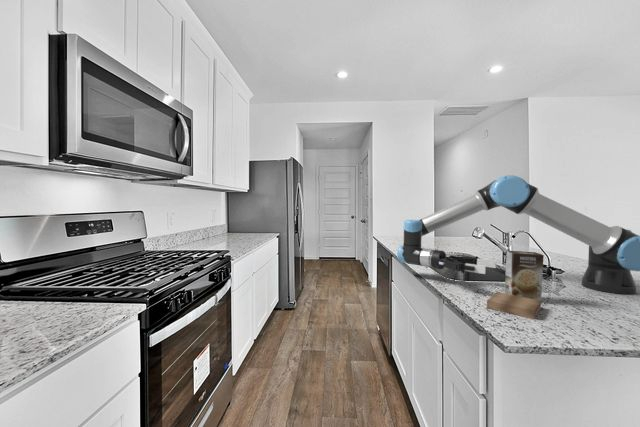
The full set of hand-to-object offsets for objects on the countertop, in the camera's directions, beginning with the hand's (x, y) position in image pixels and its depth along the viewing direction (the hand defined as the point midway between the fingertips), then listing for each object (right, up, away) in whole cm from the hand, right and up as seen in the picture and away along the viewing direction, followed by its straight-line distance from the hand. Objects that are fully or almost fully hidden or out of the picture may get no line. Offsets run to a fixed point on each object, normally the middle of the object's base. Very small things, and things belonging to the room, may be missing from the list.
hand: (491, 267), depth 107 cm
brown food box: (+7, -10, -6) cm, 14 cm away
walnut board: (-2, -10, -16) cm, 19 cm away
